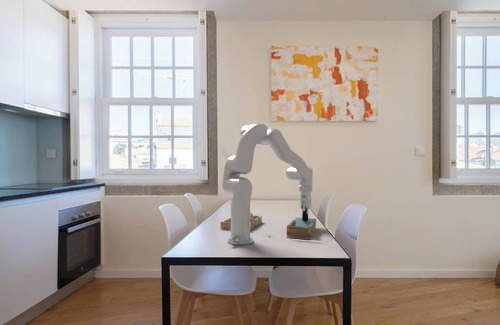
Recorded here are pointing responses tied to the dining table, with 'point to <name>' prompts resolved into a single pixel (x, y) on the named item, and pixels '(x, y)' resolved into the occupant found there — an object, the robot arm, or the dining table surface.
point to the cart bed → (300, 230)
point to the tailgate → (304, 222)
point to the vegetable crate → (257, 220)
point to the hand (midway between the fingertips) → (305, 220)
